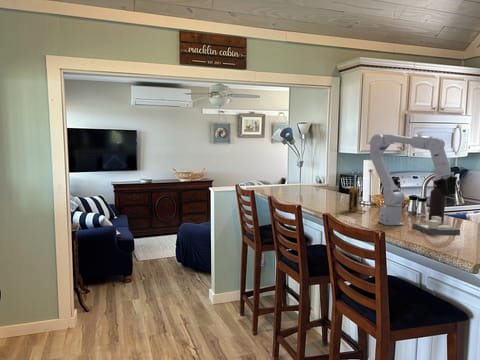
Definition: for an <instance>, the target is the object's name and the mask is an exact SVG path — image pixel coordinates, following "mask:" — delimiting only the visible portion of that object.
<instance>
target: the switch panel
mask: <svg viewBox="0 0 480 360" xmlns="http://www.w3.org/2000/svg"><path fill="white" fill-rule="evenodd" d="M412 228H414V229H416V230H418V231H420V232H423V233H425V234H427V235H460V234H461V229H459V228H456V227H453V226H451V225H447V224H445V223H443V222H441V224H439V229H432V228H429V227H428V222H413V223H412Z"/></svg>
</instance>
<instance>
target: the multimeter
mask: <svg viewBox="0 0 480 360" xmlns="http://www.w3.org/2000/svg"><path fill="white" fill-rule="evenodd" d="M352 182H353V185H352ZM356 183H357V185H359V183H358V179H357V177H354V176H352V179H351V183H350V187H349V194H348V195H349V197H348V199H349V200H348V203H347V205H348V207H347V209H348V211H350V212H351V213H358V212H359V214H360V215H362V214H365V213H366V212H367V213H369V211H366V210H361V209H359V205H358V204H359V199H360V198H359V197H360V189H359V187H357V188H356Z"/></svg>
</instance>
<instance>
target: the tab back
mask: <svg viewBox="0 0 480 360" xmlns="http://www.w3.org/2000/svg"><path fill="white" fill-rule="evenodd" d="M431 220H436V221H438V222H439V224H441V223H442V222H441V220H442V217H439V216H432V217H431Z"/></svg>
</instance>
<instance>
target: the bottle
mask: <svg viewBox="0 0 480 360" xmlns="http://www.w3.org/2000/svg"><path fill="white" fill-rule="evenodd" d="M432 182H433V181H432ZM432 186H433V189H432V190H431V191H430V195H429V196H430V197H429V208H428V221H429V220H431V217H432V216H439V217H442V220H441V223H443V222H444V220H445V209H446V197H447V195H446V196H443V195H442V194H441V192H440V190H439V188H438V187H437V186H436V185H435V184H434V182H433V183H432Z"/></svg>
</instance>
